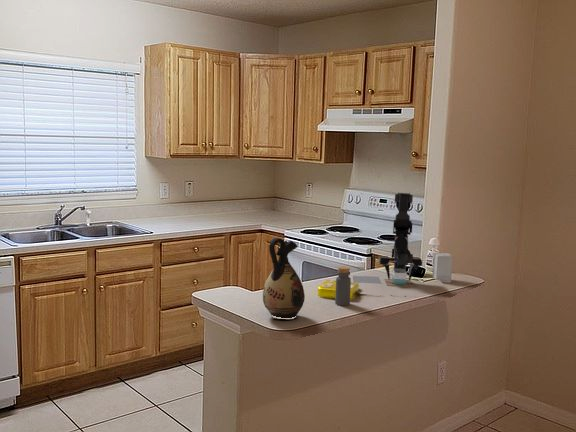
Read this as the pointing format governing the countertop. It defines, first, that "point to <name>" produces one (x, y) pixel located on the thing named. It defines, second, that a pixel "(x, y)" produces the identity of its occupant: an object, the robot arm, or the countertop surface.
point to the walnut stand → (390, 283)
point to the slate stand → (366, 279)
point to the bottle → (343, 286)
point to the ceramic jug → (283, 283)
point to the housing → (399, 277)
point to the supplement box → (442, 267)
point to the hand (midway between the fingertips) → (399, 279)
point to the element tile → (329, 289)
